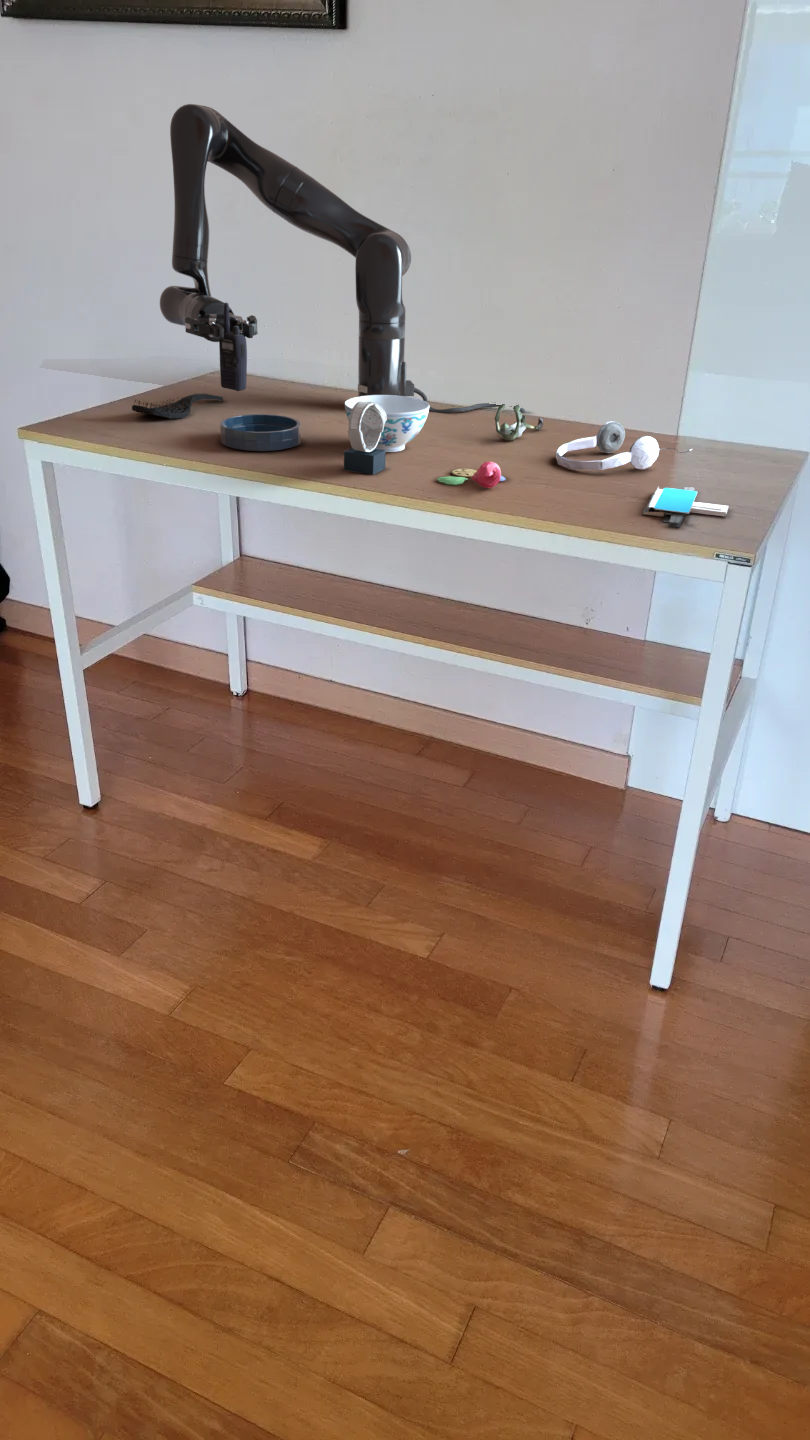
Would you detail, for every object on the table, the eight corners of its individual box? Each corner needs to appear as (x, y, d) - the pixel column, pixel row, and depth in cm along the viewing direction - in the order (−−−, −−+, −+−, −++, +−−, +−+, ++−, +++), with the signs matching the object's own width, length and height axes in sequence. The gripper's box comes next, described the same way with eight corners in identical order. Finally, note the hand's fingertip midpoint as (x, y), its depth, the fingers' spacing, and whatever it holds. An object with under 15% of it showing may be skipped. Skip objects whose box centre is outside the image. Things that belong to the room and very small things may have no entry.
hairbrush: (237, 388, 219) (154, 403, 200) (237, 407, 221) (155, 423, 201) (205, 384, 223) (120, 398, 203) (205, 402, 225) (122, 417, 205)
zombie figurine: (546, 394, 204) (515, 410, 193) (543, 430, 208) (511, 447, 196) (521, 390, 206) (488, 405, 195) (517, 426, 210) (485, 442, 198)
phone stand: (720, 533, 155) (722, 521, 154) (637, 522, 158) (639, 511, 157) (731, 496, 171) (733, 486, 171) (656, 487, 175) (658, 477, 174)
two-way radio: (216, 387, 199) (214, 302, 191) (232, 384, 202) (230, 300, 195) (239, 392, 196) (237, 305, 189) (255, 389, 199) (254, 303, 192)
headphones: (639, 441, 197) (542, 466, 192) (639, 410, 194) (540, 435, 189) (694, 466, 182) (590, 493, 178) (694, 433, 179) (589, 460, 175)
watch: (390, 466, 181) (391, 399, 176) (368, 477, 175) (369, 408, 170) (361, 461, 183) (361, 395, 178) (338, 472, 177) (338, 404, 172)
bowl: (296, 432, 200) (296, 413, 199) (304, 452, 188) (304, 432, 186) (220, 433, 198) (219, 414, 196) (222, 453, 185) (221, 433, 184)
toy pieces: (524, 482, 175) (526, 455, 173) (478, 495, 168) (480, 467, 166) (470, 467, 182) (472, 441, 180) (424, 478, 175) (425, 451, 173)
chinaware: (373, 433, 201) (373, 391, 198) (442, 445, 195) (444, 402, 191) (327, 449, 190) (327, 405, 186) (400, 463, 183) (401, 417, 180)
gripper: (171, 298, 201) (196, 311, 188) (244, 296, 207) (273, 309, 194) (174, 339, 205) (198, 356, 192) (246, 336, 211) (274, 352, 197)
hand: (236, 332), depth 193 cm, fingers closed on two-way radio, 5 cm apart
